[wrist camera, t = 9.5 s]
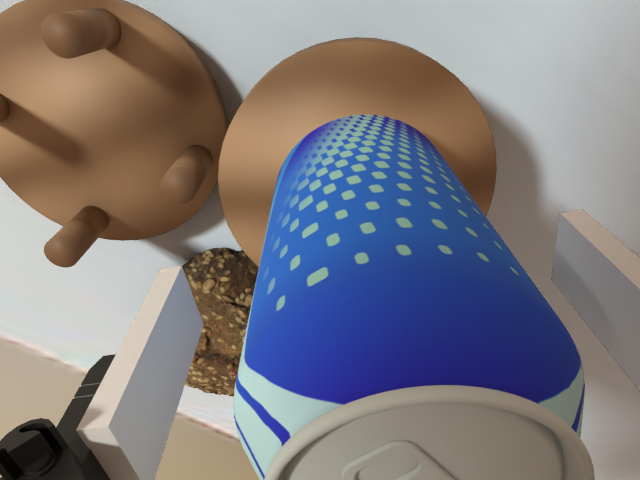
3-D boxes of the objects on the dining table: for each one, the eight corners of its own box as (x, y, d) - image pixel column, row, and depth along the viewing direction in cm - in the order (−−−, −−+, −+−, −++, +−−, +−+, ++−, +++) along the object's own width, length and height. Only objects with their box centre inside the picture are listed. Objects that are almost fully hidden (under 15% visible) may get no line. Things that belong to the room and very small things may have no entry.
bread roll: (130, 338, 36) (105, 387, 32) (200, 224, 31) (181, 263, 27) (268, 400, 40) (262, 451, 35) (351, 306, 35) (356, 352, 30)
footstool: (210, 52, 25) (181, 70, 20) (462, 9, 24) (502, 15, 19) (263, 261, 32) (253, 315, 27) (462, 234, 31) (492, 285, 26)
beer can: (453, 106, 21) (728, 352, 7) (432, 260, 25) (577, 606, 11) (271, 107, 21) (180, 358, 7) (280, 261, 25) (236, 611, 11)
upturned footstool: (-67, 77, 26) (-164, 100, 21) (122, -65, 23) (63, -80, 17) (102, 258, 32) (60, 312, 27) (270, 167, 29) (260, 208, 23)
